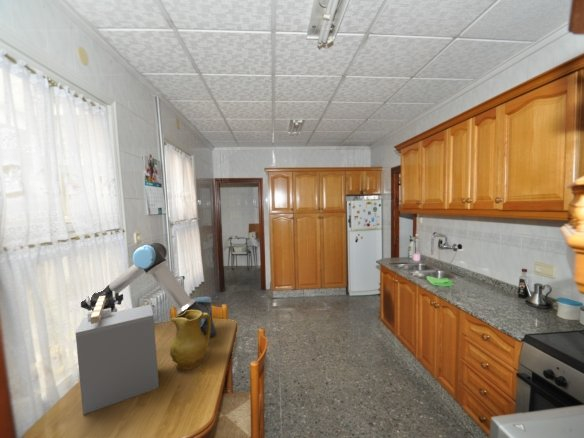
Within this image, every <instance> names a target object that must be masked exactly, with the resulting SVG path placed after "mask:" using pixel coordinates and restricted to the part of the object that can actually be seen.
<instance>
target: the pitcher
mask: <svg viewBox="0 0 584 438" xmlns="http://www.w3.org/2000/svg"><path fill="white" fill-rule="evenodd" d="M204 317H206V318H207V320H208V323H207V332H206V335H204V334H203V332H202V331H201V328H200V322H201V320H202V319H203V318H204ZM171 322H173V324H174V325H175V327H176V329H175V330H176V334H175V337H174V339H173V340H172V342H171V344H170V348H169V351H170V352H169V353H170V357H171V359H172V362H175V368H176V369H177V370H179V371H181V370H183V371H185V370H186V371H187V370H193V369H195V368H197V367H199V366H200V365H201V364H202V362H203V361H204V357H205V355H206V354H207V351H208V350H207V349H208V347H209V346H208V345H209V342H210V339H211V338H210V332H211V331H210V330H211V317H210V315H209V314H208V313H202V312H201V311H199V310H186V311H185V312H184V313H183V314H181V315H179V316H177V315H176V316H174V317H172V318H171Z"/></svg>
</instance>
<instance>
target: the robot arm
mask: <svg viewBox="0 0 584 438" xmlns="http://www.w3.org/2000/svg"><path fill="white" fill-rule="evenodd" d="M167 255H168V251H167V247H166V246H165V245H164V244H163V243H160V242H152V243H150V244H145V245H142V246H140V247H138V248H136V250H135V251H134V252H133V256H132V262H133V264H132V265H131V266H130V267H128V268H127V269H126V270H125V271H123V272H122V273H121V274H120V275H119V276H118V277H116V278H115V279H114V280H113V281H111V282H110V283H109V284H108V285H107V286H105V287H106V288H105V287H104V288H105V289H104V288H103V289H104V290H103V291H101V292H98V291H97V292H98V293H96V292H95V293H94V294H93V295H92V297H91V300H90V298H89V296H86V299H85V300H84V301H82V302H81V303H80V308H82V309H85V310H87V311H88V312H92V311H93V310H94V308H95V306H96V303H97V301H98V298H99V297H100V296H105V297H106V301H105V305H104V308H103V309H107V308H111V313H112V312H117V311H118V308H117V306H116V305H118V306H119V305H120V306H121V305H122V302H123V301H124V293H121V292H122V291H123V290H125V289H126V288H127V287H128V286H130V285H131V284H132V283H133V282H134V281H135V280H137V279H138V278H140V277H141V276H142V275H143V274H144V273H145V274H147V275H151V276H152V277H153V279H154V280H155V282H156V283H157V284H158V286H159V287H160V288H161V290H162V291H163V293H164V294H165V295H166V297H167V298H168V299H169V301H170V302H171V303H172V306H174V308H175V309H176V311H177V312H176V316H179V315H181V314H183V313H184V312H185V311H186V310H199V311H201V312H202V313H208V314H209V315H210V317H211V330H210V331H211V332H210V339H212V338H213V337H215V336H216V334H217V328H216V326H215V323H214V322H213V310H212V309H213V308H212V307H213V305H212V299H211V297H210V296H198V297H194V298H191V297H190V296H189V294H188V293H187V292H186V290H185V289H184V287H183V286H182V285H181V283H180V282H179V280H178V279H177V278H176V276H175V274H173V272H172V271H171V270H170V268H169V267H168V265H167V259H166V257H167ZM120 293H121V294H120ZM91 310H92V311H91ZM207 323H208V320H207V318H206V317H204V318H203V319H202V320H201V322H200V328H201V331H202V332H203V334H204V335H206V332H207Z"/></svg>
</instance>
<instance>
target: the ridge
mask: <svg viewBox="0 0 584 438" xmlns="http://www.w3.org/2000/svg"><path fill="white" fill-rule="evenodd" d="M92 313H93V311H88V312H87V315H86V316H87V318H88V321H91V315H92ZM111 315H112V314H111V308H107V309H103V311H102V314H101V317H100V319H101V318H106V317H110V316H111Z"/></svg>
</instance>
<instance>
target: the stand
mask: <svg viewBox="0 0 584 438" xmlns="http://www.w3.org/2000/svg"><path fill="white" fill-rule="evenodd" d="M111 314H112V315H111V316H110V317H106V318H101V319H100V320H99V322H98V323H94V324H91V321H88V317H84V318H82V319H81V320H80V323H79V325H78V327H77V329H76V331H75V342H76V353H77V362H78V372H79V374H78V376H79V384H80V396H81V397H80V398H81V406H82V416H83V415H87V414H89V413H92V412H94V411H98V410H101V409H104V408H106V407H108V406H111V405H114V404H117V403H120V402H122V401H125V400H128V399H131V398H133V397H137V396H140V395H143V394H145V393H148V392H150V391H153V390H156V389H158V388H159V387H160V386H159V385H160V383H159V371H158V360H157V358H158V357H157V346H156V345H157V344H156V334H155V321H154V312H153V307H152V303H151V304H147V305H142V306H138V307H137V306H136V307H131V308H127V309H123V310H117V312H112V313H111Z"/></svg>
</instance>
